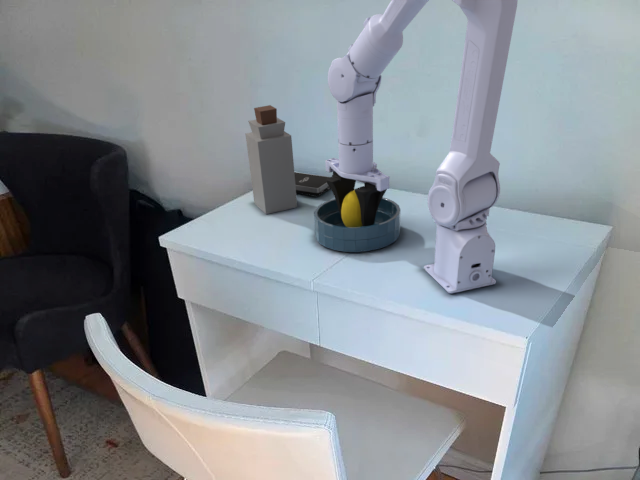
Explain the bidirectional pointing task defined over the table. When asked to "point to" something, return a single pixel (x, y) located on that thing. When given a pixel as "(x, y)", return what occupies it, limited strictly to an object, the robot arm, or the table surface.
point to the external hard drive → (310, 184)
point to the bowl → (357, 228)
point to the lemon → (351, 210)
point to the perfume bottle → (271, 162)
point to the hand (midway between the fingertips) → (357, 221)
